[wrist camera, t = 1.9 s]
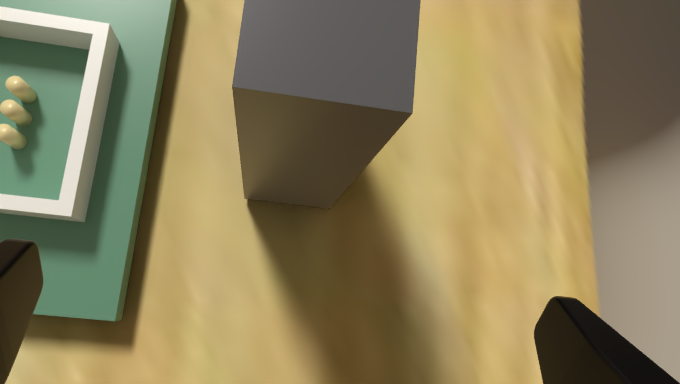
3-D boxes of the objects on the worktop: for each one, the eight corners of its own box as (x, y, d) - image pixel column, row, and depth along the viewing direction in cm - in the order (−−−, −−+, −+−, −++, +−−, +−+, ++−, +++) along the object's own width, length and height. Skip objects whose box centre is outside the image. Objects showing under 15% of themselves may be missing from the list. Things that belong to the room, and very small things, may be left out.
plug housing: (329, 208, 22) (412, 112, 10) (244, 198, 22) (232, 86, 10) (340, 95, 23) (427, -107, 11) (259, 83, 23) (264, -140, 11)
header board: (121, 319, 20) (103, 323, 18) (-143, 296, 19) (-201, 297, 16) (179, -14, 23) (170, -50, 20) (-47, -52, 22) (-85, -96, 19)
